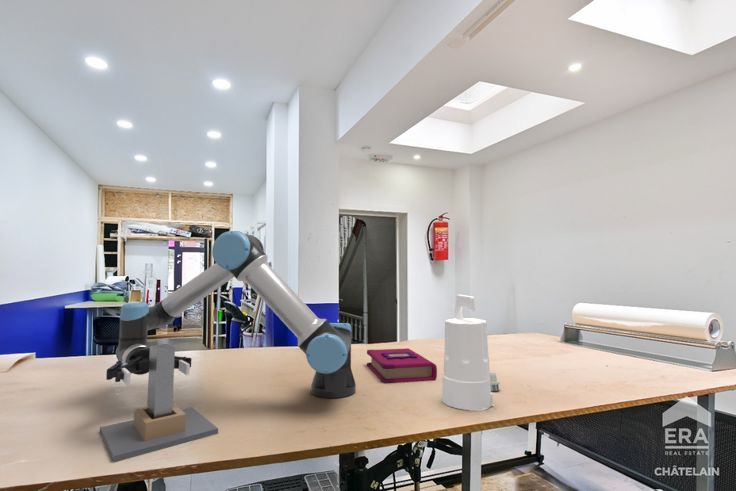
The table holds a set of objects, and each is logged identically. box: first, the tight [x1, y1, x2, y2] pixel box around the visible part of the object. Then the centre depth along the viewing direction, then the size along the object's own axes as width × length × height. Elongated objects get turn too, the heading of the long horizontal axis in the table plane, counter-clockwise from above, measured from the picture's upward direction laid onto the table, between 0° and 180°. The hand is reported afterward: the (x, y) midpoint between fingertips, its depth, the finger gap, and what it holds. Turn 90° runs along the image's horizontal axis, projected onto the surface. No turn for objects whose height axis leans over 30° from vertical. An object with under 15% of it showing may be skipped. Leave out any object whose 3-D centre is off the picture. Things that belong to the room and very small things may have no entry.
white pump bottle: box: [441, 293, 496, 412], centre depth 122 cm, size 15×15×33 cm
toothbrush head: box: [490, 371, 500, 392], centre depth 143 cm, size 5×7×25 cm
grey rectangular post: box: [146, 343, 176, 419], centre depth 97 cm, size 4×7×20 cm, turn 42°
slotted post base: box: [99, 402, 219, 463], centre depth 96 cm, size 22×20×5 cm
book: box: [366, 347, 438, 385], centre depth 156 cm, size 21×28×8 cm
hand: (159, 374), depth 97 cm, fingers open, 13 cm apart
